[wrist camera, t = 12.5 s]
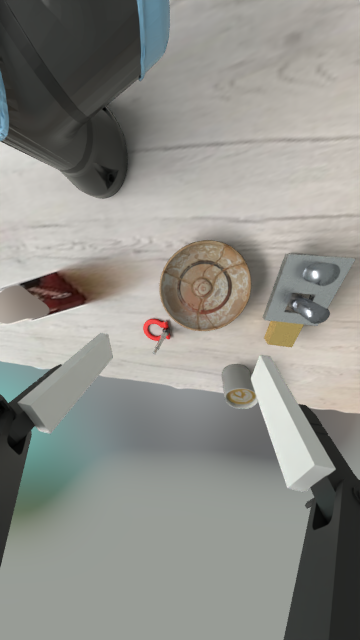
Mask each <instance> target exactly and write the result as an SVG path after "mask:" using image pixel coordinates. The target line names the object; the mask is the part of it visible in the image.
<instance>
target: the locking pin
mask: <svg viewBox="0 0 360 640" xmlns="http://www.w3.org/2000/svg"><path fill="white" fill-rule="evenodd" d="M287 305H288V306H289V307H290V308H292V309H293V310H294V311H296V312H297V313H298V314H300V315H301V316H303V317H304V318H305V319H307V320H308V321H309V322H311V323H313V324H319V323H322V322H324V321H325V320H327V318H328V317H329V315H330V312H329V310H328V309H327V308H325V307H323V306H321V305H319V304H317V303H315V302H313V301H311V300H309V299H308V298H306V297H304V296H302V295H300V294H298V293H292V295H291V297H290V300H289V302H288V304H287Z"/></svg>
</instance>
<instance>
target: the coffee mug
mask: <svg viewBox="0 0 360 640" xmlns="http://www.w3.org/2000/svg"><path fill="white" fill-rule="evenodd" d="M222 380H223V388H224V396H225V400H226V402H227V404H228V405H230V406H232V407H234V408H238V409H247V408H251V407H253V406H254V405H256V404H257V402H258V399H257V396H256V393H255V390H254V387H253V384H252V381H251V374H250V372H249V370H248V368H246V367H245V366H243V365H239V364H232V365H229V366H227V367H225V368H224V369H223V371H222Z"/></svg>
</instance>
